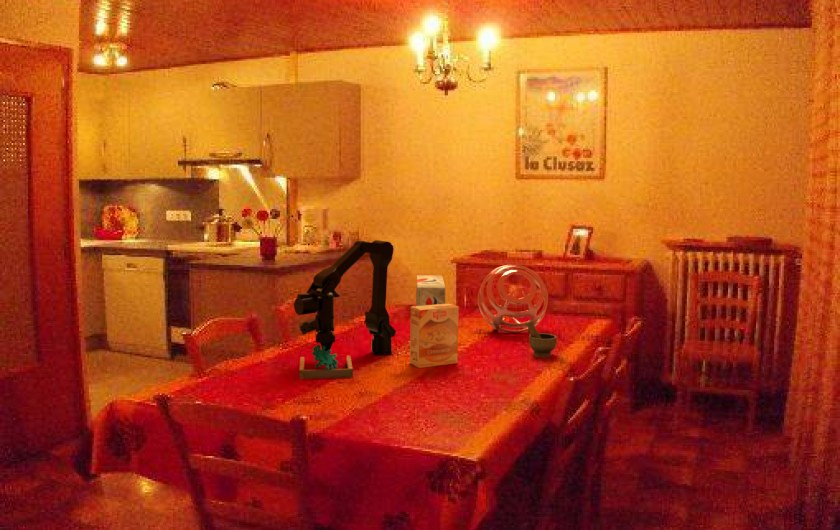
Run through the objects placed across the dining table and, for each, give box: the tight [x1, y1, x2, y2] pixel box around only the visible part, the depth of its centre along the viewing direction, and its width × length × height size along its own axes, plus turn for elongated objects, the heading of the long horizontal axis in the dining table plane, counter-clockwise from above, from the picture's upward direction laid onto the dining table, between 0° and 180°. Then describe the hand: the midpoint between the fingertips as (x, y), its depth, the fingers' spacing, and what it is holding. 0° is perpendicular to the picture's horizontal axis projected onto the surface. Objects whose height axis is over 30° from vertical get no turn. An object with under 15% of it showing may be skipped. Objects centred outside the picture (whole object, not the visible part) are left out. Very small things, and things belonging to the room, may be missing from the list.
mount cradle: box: [298, 355, 354, 380], centre depth 240 cm, size 16×17×2 cm
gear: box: [311, 344, 339, 369], centre depth 242 cm, size 11×6×10 cm
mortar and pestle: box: [526, 320, 558, 359], centre depth 262 cm, size 11×9×12 cm
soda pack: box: [415, 274, 446, 306], centre depth 344 cm, size 41×13×14 cm, turn 0°
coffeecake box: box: [409, 303, 460, 369], centre depth 249 cm, size 15×7×20 cm, turn 118°
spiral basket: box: [477, 264, 549, 334], centre depth 301 cm, size 28×28×27 cm
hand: (325, 357), depth 248 cm, fingers closed
